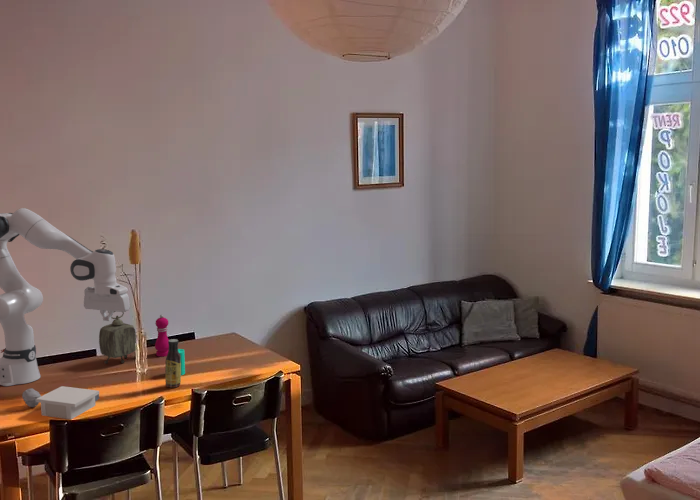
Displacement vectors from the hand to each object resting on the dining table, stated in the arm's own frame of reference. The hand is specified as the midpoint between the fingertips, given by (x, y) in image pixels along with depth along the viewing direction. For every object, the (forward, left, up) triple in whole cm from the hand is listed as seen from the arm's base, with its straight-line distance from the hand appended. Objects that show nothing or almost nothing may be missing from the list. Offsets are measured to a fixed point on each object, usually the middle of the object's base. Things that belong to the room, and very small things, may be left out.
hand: (107, 320), depth 279 cm
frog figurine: (-12, -32, -27) cm, 44 cm away
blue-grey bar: (+5, -27, -28) cm, 39 cm away
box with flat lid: (+4, -30, -27) cm, 40 cm away
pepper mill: (+1, +40, -27) cm, 48 cm away
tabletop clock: (-12, +24, -27) cm, 38 cm away
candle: (+22, +18, -27) cm, 39 cm away
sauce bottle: (+28, +4, -27) cm, 39 cm away
